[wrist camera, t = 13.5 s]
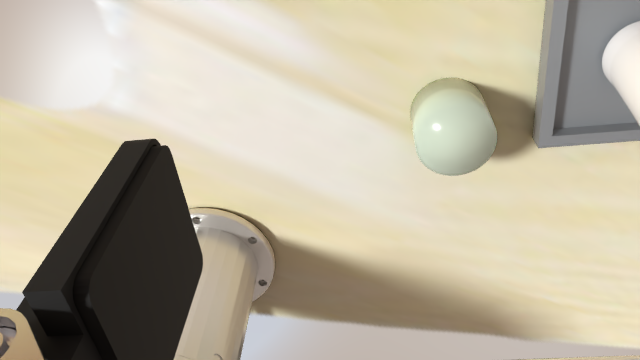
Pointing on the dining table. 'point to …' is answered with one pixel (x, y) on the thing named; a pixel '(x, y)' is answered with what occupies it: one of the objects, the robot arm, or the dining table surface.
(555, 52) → the slate tray
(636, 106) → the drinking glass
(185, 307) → the robot arm
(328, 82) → the dining table surface
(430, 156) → the pale green rounded cylinder
